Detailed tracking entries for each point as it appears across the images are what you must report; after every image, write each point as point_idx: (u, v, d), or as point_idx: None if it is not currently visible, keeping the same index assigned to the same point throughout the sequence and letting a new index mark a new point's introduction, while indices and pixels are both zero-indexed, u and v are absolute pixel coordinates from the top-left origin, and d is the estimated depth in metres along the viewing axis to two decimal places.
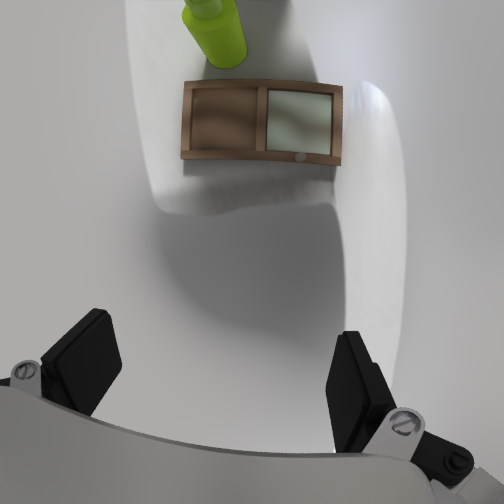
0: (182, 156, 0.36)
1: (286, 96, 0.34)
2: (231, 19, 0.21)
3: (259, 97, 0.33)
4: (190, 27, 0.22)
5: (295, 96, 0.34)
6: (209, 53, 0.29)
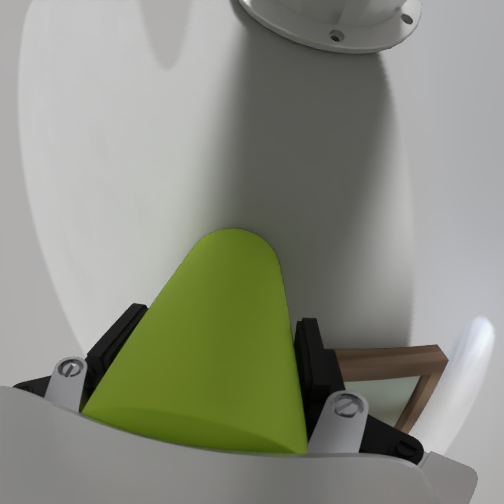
0: None
1: (350, 381, 0.18)
2: None
3: None
4: None
5: None
6: None
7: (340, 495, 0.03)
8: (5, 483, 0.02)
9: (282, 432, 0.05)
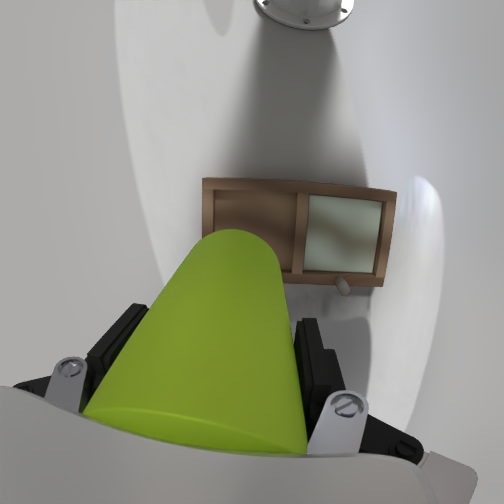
0: None
1: (330, 203, 0.30)
2: None
3: (299, 207, 0.30)
4: None
5: (341, 203, 0.30)
6: None
7: (340, 495, 0.03)
8: (5, 483, 0.02)
9: (282, 434, 0.05)
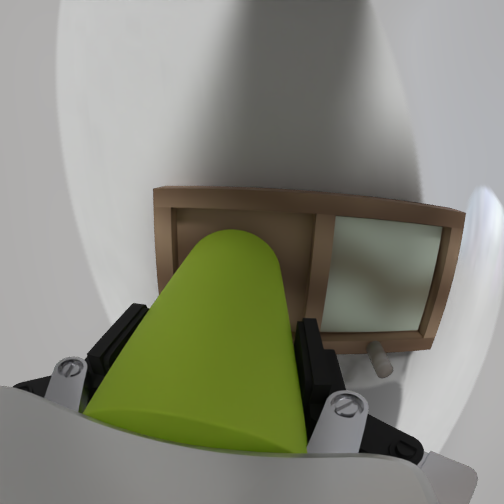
0: None
1: (368, 230, 0.18)
2: None
3: (318, 239, 0.17)
4: None
5: (384, 230, 0.18)
6: None
7: (340, 495, 0.03)
8: (5, 483, 0.02)
9: (282, 434, 0.05)
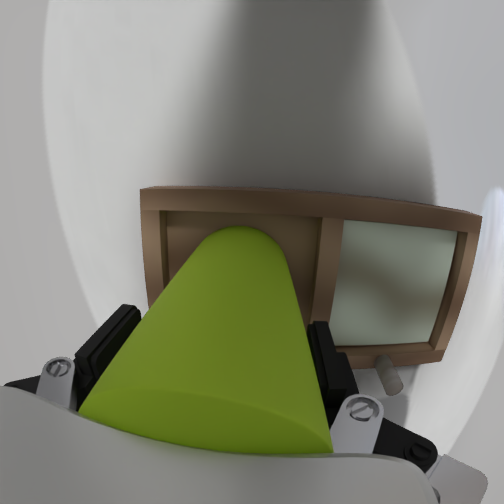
0: None
1: (379, 235, 0.16)
2: None
3: (324, 246, 0.15)
4: None
5: (396, 235, 0.16)
6: None
7: (340, 495, 0.03)
8: (5, 483, 0.02)
9: (306, 415, 0.04)
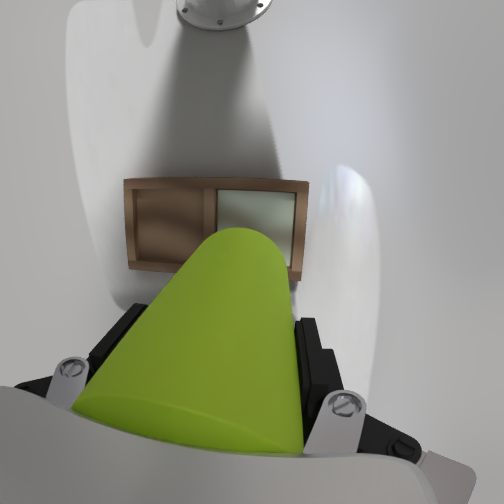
0: (130, 266, 0.34)
1: (239, 197, 0.32)
2: None
3: (205, 202, 0.31)
4: None
5: (250, 196, 0.31)
6: None
7: (340, 495, 0.03)
8: (5, 483, 0.02)
9: (273, 430, 0.04)
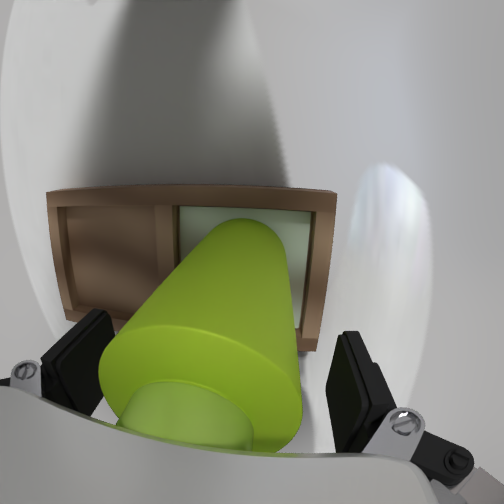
0: (67, 316, 0.21)
1: (215, 218, 0.18)
2: (280, 446, 0.07)
3: (158, 228, 0.18)
4: None
5: (233, 218, 0.18)
6: None
7: (340, 495, 0.03)
8: (5, 483, 0.02)
9: (274, 356, 0.06)
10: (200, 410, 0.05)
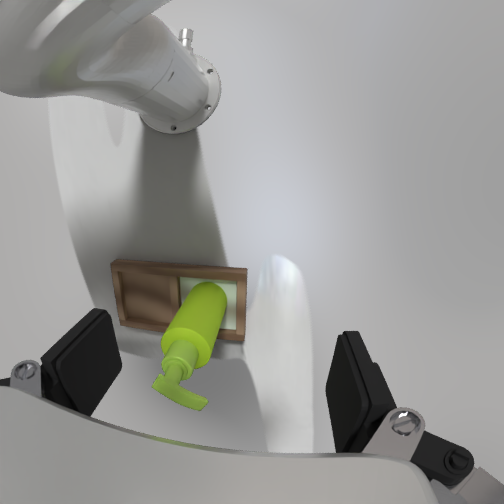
0: (121, 323, 0.44)
1: (195, 281, 0.42)
2: None
3: (171, 285, 0.41)
4: None
5: (203, 281, 0.42)
6: None
7: (340, 495, 0.03)
8: (5, 483, 0.02)
9: (202, 334, 0.29)
10: (186, 344, 0.28)
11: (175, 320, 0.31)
